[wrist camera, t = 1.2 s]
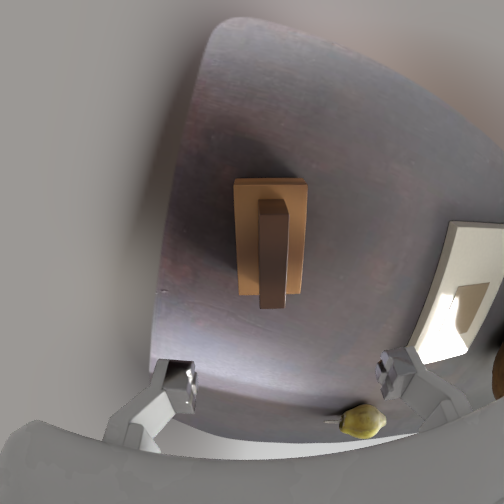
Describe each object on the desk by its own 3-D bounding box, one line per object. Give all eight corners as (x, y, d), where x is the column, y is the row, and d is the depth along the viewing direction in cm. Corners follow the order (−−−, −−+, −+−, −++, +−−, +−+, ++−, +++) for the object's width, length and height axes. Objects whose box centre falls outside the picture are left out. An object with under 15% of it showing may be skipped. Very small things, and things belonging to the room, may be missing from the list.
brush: (235, 176, 21) (230, 198, 16) (301, 175, 21) (317, 197, 16) (239, 276, 25) (237, 320, 20) (296, 275, 25) (306, 318, 20)
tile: (449, 220, 23) (458, 227, 21) (512, 224, 22) (520, 230, 21) (399, 360, 32) (403, 369, 31) (461, 346, 32) (466, 353, 31)
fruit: (322, 407, 37) (387, 397, 34) (324, 413, 41) (382, 405, 38) (323, 442, 33) (390, 433, 30) (324, 444, 37) (384, 436, 34)
